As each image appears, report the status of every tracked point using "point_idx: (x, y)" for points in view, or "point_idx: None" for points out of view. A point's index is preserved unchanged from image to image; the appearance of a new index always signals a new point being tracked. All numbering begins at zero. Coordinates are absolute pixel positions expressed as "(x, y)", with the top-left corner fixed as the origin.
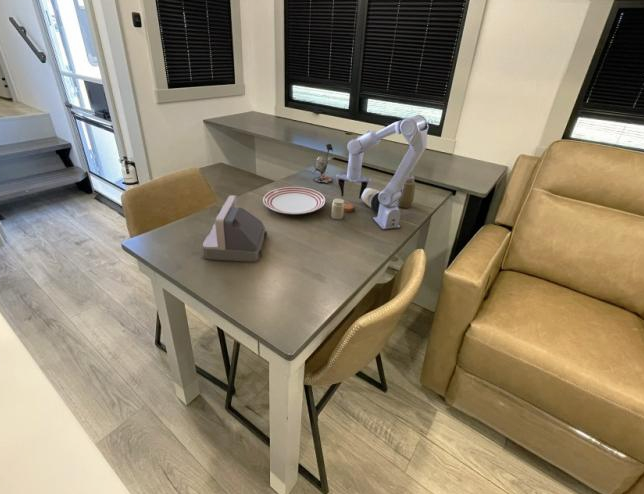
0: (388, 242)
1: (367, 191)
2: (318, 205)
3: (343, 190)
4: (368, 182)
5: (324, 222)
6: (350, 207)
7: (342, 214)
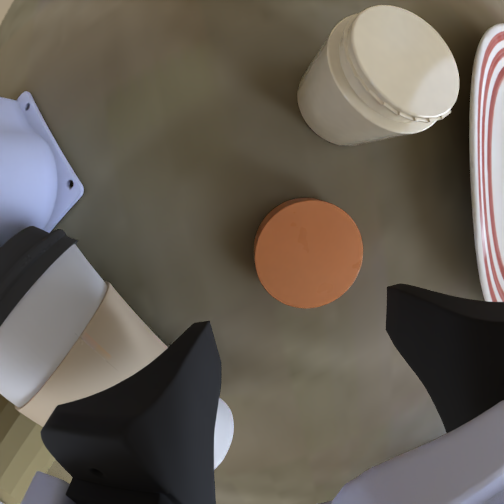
0: (23, 13)
1: None
2: (484, 163)
3: (419, 339)
4: (46, 496)
5: None
6: (276, 239)
7: (307, 70)
